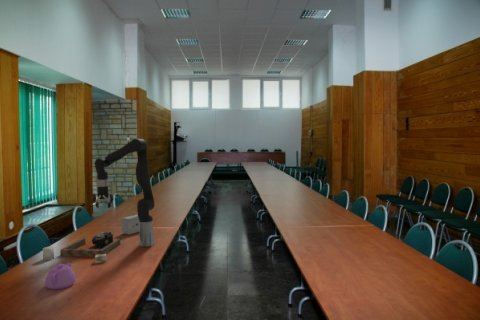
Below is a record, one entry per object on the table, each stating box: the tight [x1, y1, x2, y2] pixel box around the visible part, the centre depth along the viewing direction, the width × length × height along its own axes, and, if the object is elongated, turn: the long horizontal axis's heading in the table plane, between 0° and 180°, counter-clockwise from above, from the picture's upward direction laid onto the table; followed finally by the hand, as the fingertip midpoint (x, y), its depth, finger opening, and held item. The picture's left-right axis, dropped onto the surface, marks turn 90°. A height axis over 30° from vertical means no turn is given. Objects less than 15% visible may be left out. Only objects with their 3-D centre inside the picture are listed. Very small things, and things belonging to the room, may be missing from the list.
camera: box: [91, 231, 114, 250], centre depth 238 cm, size 16×10×10 cm, turn 164°
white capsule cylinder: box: [42, 246, 55, 262], centre depth 212 cm, size 6×6×7 cm
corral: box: [60, 237, 122, 258], centre depth 229 cm, size 28×26×4 cm
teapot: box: [44, 262, 77, 291], centre depth 174 cm, size 14×20×11 cm
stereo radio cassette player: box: [121, 210, 139, 236], centre depth 274 cm, size 21×8×20 cm, turn 149°
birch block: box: [94, 254, 107, 264], centre depth 207 cm, size 6×4×4 cm, turn 109°
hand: (103, 207), depth 246 cm, fingers open, 8 cm apart
